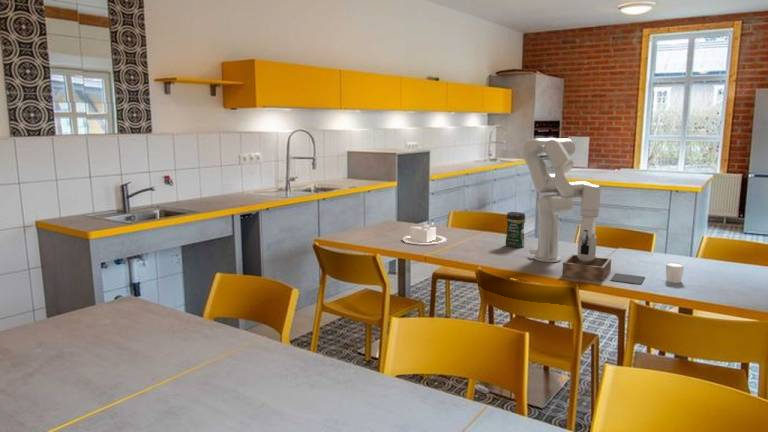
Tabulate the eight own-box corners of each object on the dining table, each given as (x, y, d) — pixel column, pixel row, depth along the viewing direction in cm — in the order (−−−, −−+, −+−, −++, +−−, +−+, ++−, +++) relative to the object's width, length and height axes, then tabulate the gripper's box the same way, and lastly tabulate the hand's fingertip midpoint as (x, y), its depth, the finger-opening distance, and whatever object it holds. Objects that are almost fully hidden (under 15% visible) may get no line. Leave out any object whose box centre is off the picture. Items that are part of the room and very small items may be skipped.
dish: (453, 239, 326) (453, 220, 324) (433, 248, 306) (433, 227, 304) (416, 234, 339) (416, 216, 337) (394, 243, 319) (394, 223, 317)
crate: (562, 275, 250) (562, 262, 249) (571, 267, 264) (572, 254, 263) (603, 281, 241) (603, 267, 240) (610, 271, 255) (611, 258, 254)
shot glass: (661, 278, 244) (662, 262, 243) (676, 278, 244) (678, 262, 243) (670, 283, 237) (672, 267, 236) (686, 282, 238) (687, 266, 237)
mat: (610, 280, 242) (610, 279, 242) (615, 273, 252) (615, 273, 252) (641, 284, 236) (641, 283, 235) (645, 277, 246) (645, 276, 246)
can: (596, 262, 248) (598, 235, 245) (578, 261, 249) (580, 234, 247) (593, 257, 255) (595, 231, 252) (576, 256, 256) (577, 230, 254)
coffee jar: (503, 246, 306) (504, 212, 303) (509, 243, 313) (510, 210, 309) (520, 248, 300) (521, 214, 297) (526, 246, 307) (527, 211, 303)
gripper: (585, 208, 257) (582, 246, 261) (575, 215, 242) (573, 255, 246) (602, 210, 253) (599, 248, 257) (594, 217, 239) (591, 258, 242)
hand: (586, 251), depth 251 cm, fingers closed on can, 7 cm apart
